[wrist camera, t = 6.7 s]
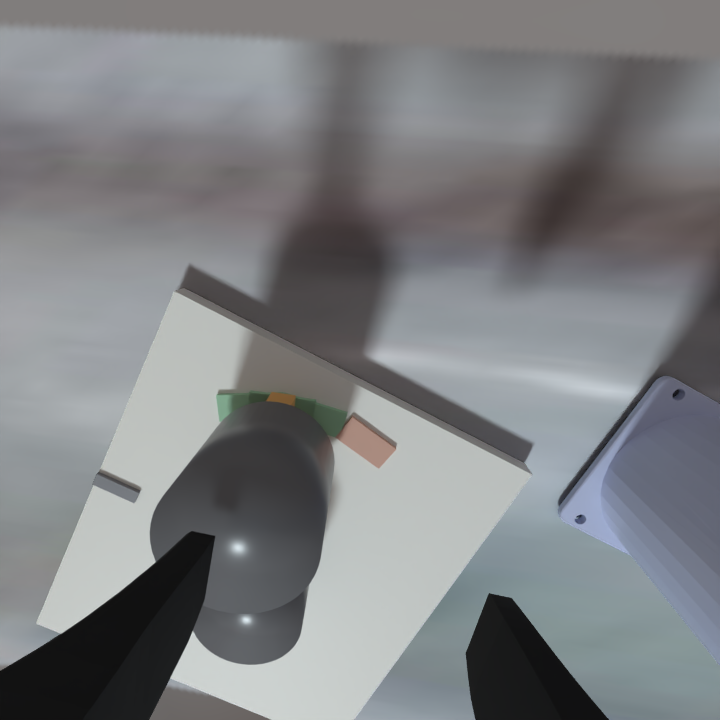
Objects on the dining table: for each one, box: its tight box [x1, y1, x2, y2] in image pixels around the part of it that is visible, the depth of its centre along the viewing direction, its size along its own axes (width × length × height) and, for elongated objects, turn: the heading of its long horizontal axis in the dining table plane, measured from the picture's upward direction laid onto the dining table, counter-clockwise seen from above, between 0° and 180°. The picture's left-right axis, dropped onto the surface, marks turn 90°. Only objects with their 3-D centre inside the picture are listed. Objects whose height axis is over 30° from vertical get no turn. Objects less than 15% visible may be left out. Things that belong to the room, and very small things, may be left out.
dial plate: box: [36, 288, 532, 720], centre depth 22 cm, size 17×19×1 cm
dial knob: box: [150, 392, 335, 665], centre depth 17 cm, size 11×5×6 cm, turn 171°
